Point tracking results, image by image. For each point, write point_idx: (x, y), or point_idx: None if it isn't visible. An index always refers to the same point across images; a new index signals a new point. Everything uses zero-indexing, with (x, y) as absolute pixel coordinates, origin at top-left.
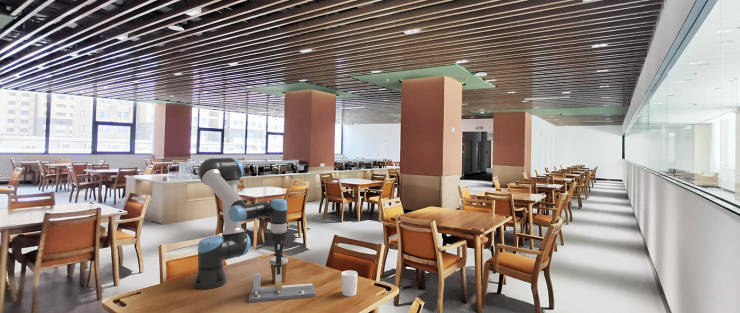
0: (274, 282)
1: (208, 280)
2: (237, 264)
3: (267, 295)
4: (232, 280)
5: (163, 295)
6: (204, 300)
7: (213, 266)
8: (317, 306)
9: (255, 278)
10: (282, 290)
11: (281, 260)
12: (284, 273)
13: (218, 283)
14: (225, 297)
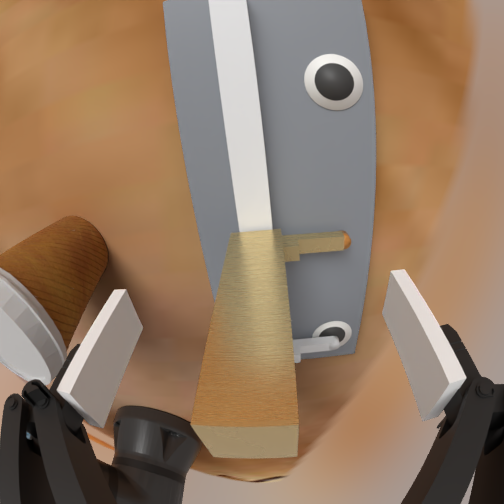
0: (104, 269)
1: (193, 452)
2: None
3: (337, 290)
4: (119, 393)
5: (240, 463)
6: None
7: (173, 482)
8: (473, 27)
9: None
10: (272, 213)
11: (201, 428)
12: (57, 243)
13: (180, 428)
14: None
